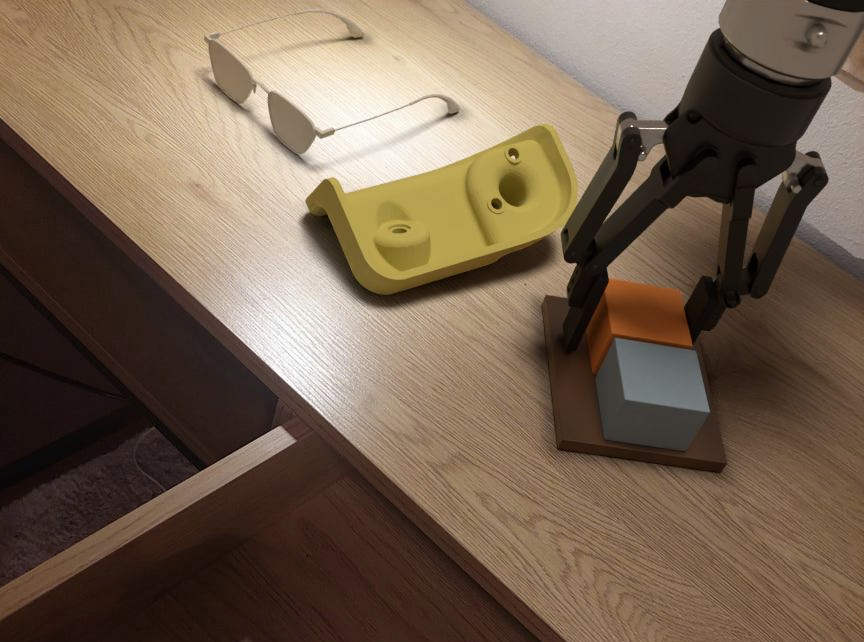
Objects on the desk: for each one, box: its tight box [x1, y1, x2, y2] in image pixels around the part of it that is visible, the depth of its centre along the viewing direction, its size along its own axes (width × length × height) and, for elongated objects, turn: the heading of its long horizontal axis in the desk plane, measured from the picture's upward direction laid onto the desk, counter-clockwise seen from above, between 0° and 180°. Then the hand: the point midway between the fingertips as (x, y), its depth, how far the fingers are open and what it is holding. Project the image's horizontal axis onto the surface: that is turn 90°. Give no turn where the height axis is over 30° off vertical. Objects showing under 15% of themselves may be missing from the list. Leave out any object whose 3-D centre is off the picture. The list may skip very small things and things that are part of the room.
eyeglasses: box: [203, 8, 461, 155], centre depth 92 cm, size 15×18×4 cm
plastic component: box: [304, 123, 579, 296], centre depth 83 cm, size 20×7×10 cm
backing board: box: [541, 294, 728, 473], centre depth 78 cm, size 12×15×1 cm
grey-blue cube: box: [595, 338, 710, 451], centre depth 74 cm, size 6×6×4 cm
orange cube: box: [586, 277, 693, 375], centre depth 78 cm, size 6×6×4 cm
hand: (620, 347), depth 79 cm, fingers open, 7 cm apart
